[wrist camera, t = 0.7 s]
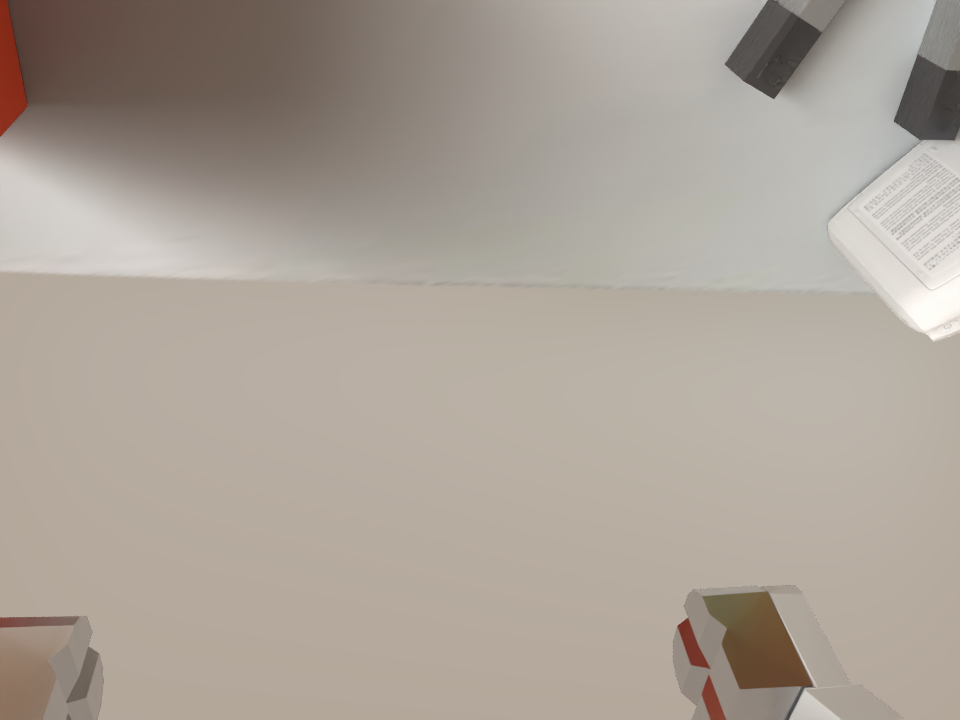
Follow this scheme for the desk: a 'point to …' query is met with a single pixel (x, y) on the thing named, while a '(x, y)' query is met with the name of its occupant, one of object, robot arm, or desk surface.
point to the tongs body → (935, 79)
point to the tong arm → (780, 41)
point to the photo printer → (910, 237)
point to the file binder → (9, 73)
